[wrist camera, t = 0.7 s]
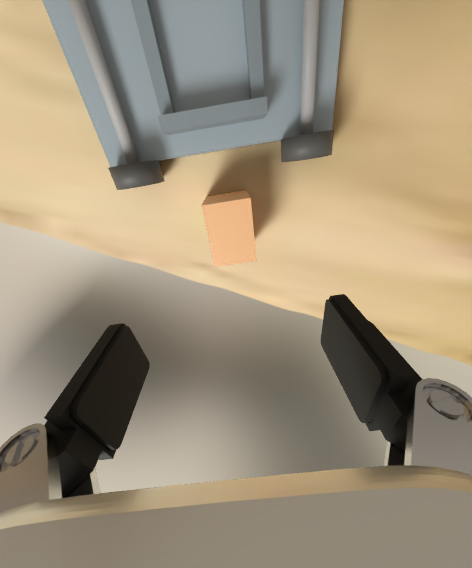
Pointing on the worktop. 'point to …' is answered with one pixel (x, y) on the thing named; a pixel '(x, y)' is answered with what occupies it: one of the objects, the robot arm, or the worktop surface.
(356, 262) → the worktop surface
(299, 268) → the worktop surface
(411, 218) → the worktop surface
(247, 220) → the block
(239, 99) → the chassis
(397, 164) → the worktop surface
